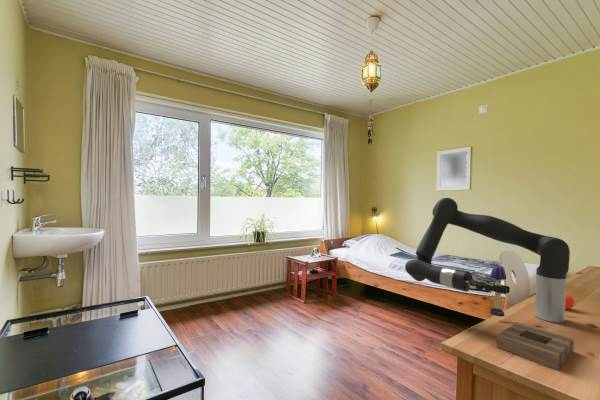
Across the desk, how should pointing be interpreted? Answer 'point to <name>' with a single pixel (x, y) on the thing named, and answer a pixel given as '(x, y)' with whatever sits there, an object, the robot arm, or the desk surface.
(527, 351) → the socket block
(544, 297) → the robot arm
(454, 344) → the desk surface
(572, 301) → the clementine
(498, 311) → the toy lamp
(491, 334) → the desk surface
